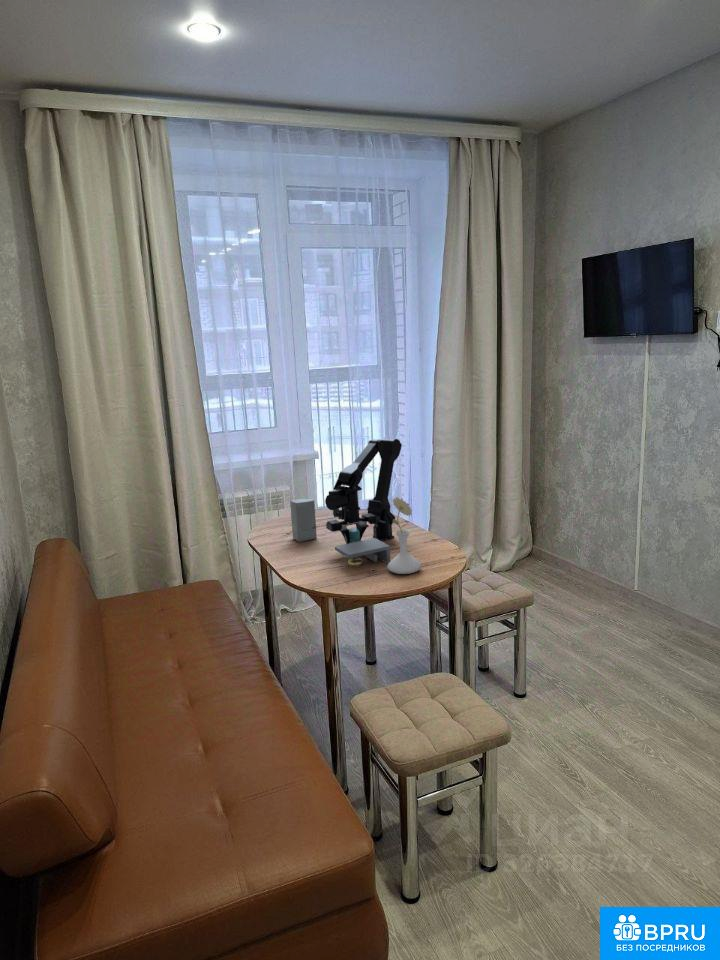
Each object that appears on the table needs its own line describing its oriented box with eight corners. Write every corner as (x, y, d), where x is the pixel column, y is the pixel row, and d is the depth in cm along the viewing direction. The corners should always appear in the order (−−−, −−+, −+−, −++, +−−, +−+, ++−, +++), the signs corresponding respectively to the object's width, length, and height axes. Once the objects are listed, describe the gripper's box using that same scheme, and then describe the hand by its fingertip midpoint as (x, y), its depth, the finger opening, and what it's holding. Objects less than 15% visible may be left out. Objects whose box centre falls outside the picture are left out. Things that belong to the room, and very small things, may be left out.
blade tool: (355, 545, 249) (354, 528, 248) (381, 560, 231) (380, 541, 230) (346, 547, 248) (345, 529, 246) (371, 563, 230) (370, 544, 228)
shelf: (375, 554, 240) (374, 538, 238) (390, 562, 230) (389, 545, 229) (335, 563, 233) (334, 546, 232) (349, 572, 223) (348, 554, 222)
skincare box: (298, 542, 259) (295, 503, 255) (291, 538, 265) (288, 500, 261) (318, 538, 262) (315, 500, 259) (311, 534, 269) (308, 496, 265)
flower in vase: (426, 574, 218) (423, 500, 212) (394, 579, 215) (390, 505, 209) (412, 561, 230) (409, 492, 224) (381, 566, 227) (377, 496, 221)
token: (358, 561, 234) (358, 556, 233) (365, 565, 229) (364, 560, 229) (345, 564, 231) (345, 559, 231) (352, 568, 227) (351, 563, 227)
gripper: (363, 495, 254) (365, 534, 257) (319, 503, 246) (321, 543, 250) (377, 501, 244) (379, 541, 248) (330, 509, 236) (333, 551, 240)
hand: (353, 544), depth 246 cm, fingers closed on blade tool, 4 cm apart
